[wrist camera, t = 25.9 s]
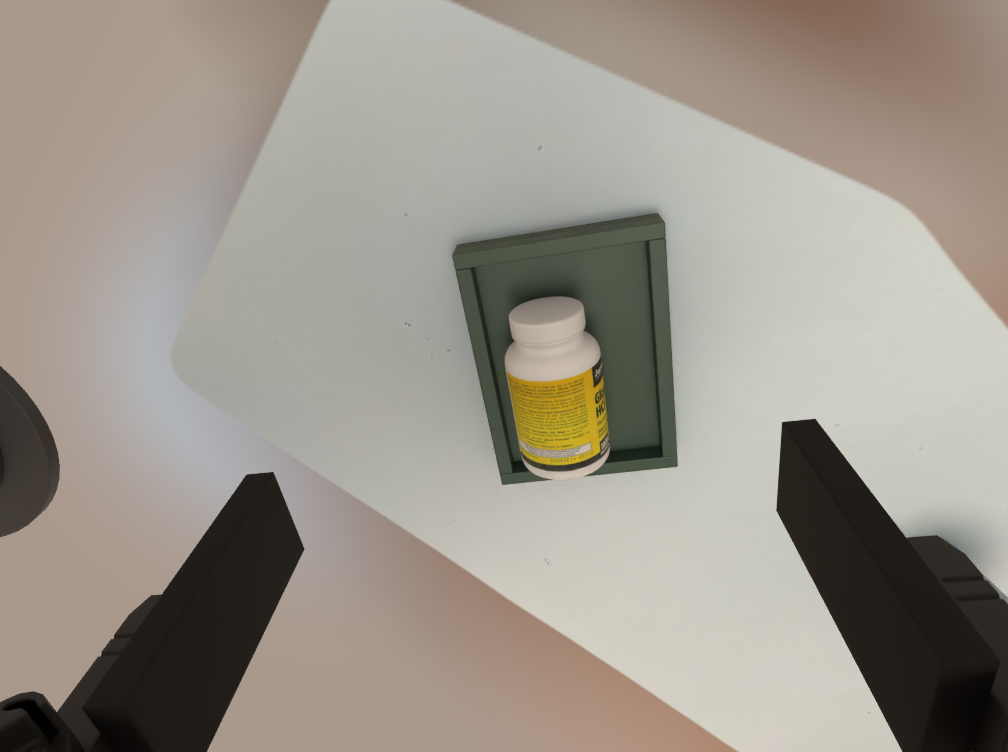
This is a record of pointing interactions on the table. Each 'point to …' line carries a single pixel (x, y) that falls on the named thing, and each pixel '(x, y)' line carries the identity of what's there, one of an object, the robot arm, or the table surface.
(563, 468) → the pill bottle
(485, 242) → the tray
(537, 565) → the table surface
